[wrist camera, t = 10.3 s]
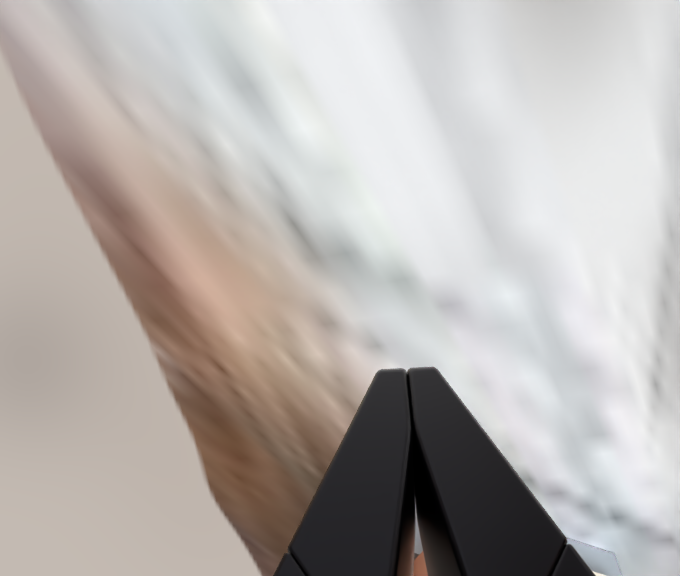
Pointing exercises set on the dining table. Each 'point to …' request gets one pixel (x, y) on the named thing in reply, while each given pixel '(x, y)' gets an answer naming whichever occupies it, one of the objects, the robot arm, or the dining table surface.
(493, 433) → the dining table surface
